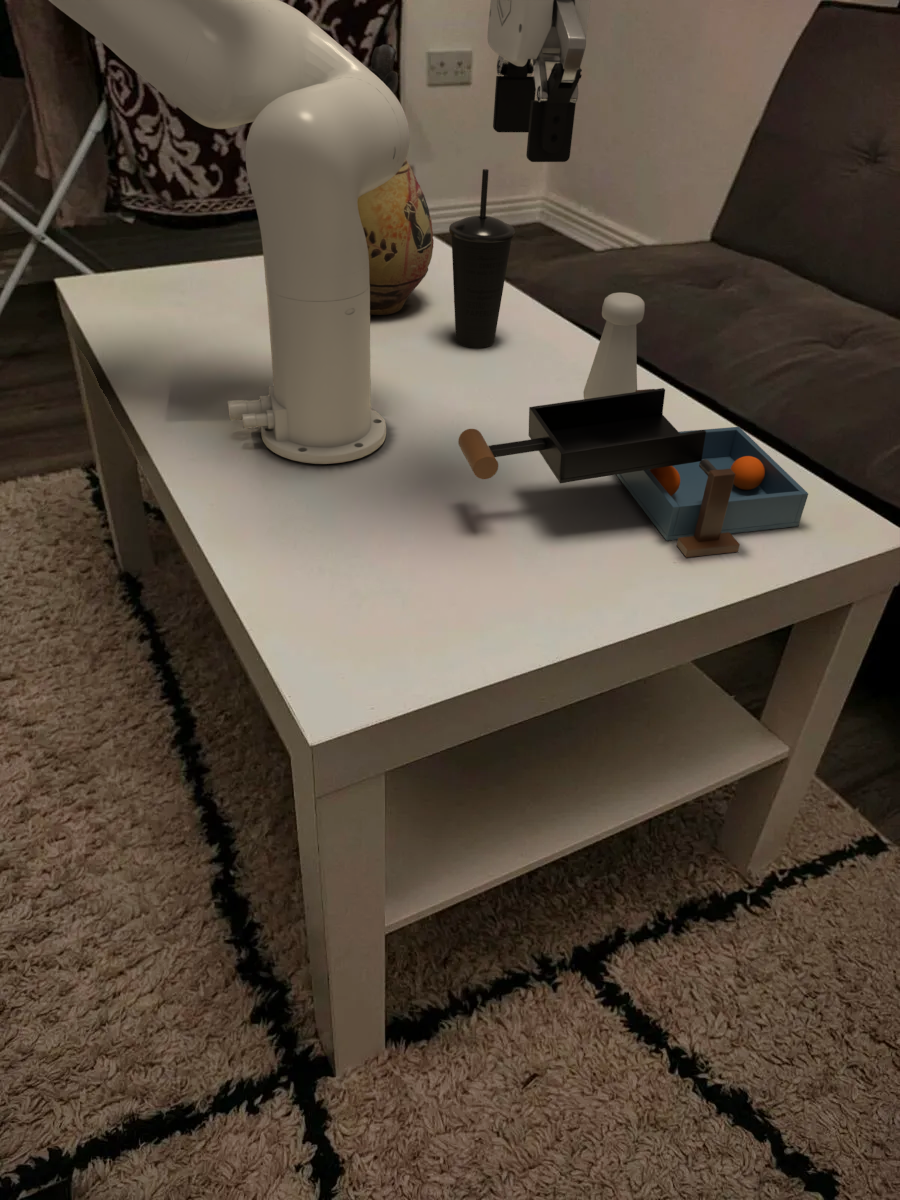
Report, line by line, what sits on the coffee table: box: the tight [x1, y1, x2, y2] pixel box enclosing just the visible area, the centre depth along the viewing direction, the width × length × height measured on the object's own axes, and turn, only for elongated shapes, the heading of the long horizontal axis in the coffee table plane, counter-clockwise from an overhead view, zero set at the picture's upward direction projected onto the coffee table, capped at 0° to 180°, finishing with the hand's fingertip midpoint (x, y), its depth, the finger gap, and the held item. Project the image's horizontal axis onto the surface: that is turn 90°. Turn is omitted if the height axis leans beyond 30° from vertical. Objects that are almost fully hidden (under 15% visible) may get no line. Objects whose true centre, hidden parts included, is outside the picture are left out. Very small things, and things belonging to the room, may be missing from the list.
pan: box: [457, 387, 706, 484], centre depth 84 cm, size 20×9×3 cm, turn 104°
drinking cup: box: [448, 168, 516, 349], centre depth 114 cm, size 8×8×20 cm
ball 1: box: [650, 466, 680, 496], centre depth 90 cm, size 3×3×3 cm
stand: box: [635, 388, 740, 558], centre depth 89 cm, size 5×19×7 cm, turn 14°
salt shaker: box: [583, 292, 646, 399], centre depth 101 cm, size 6×6×13 cm
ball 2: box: [731, 456, 765, 490], centre depth 91 cm, size 3×3×3 cm
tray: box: [616, 426, 809, 541], centre depth 91 cm, size 13×13×4 cm
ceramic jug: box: [357, 44, 435, 317], centre depth 120 cm, size 17×15×30 cm
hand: (529, 145), depth 75 cm, fingers open, 9 cm apart
